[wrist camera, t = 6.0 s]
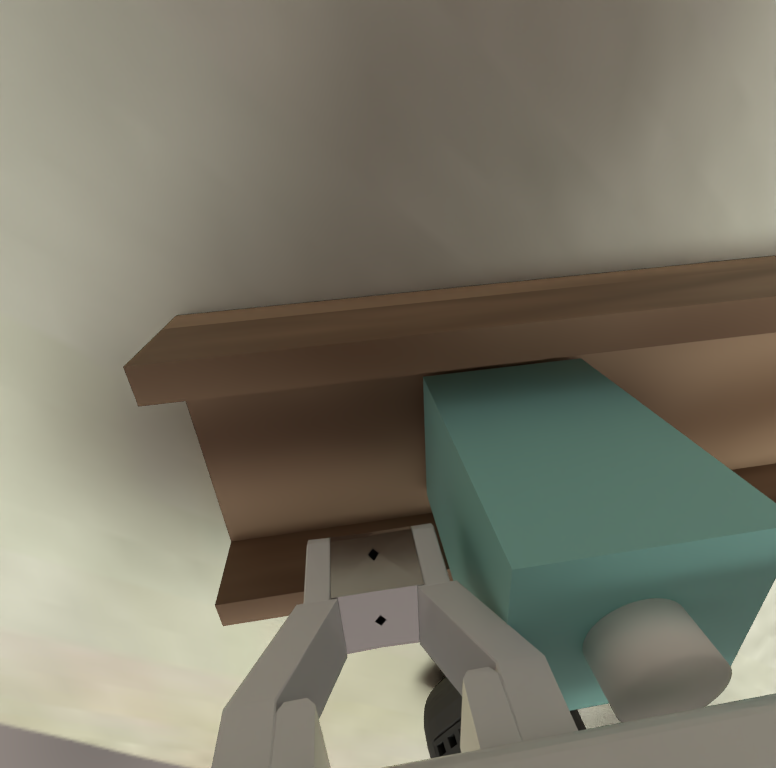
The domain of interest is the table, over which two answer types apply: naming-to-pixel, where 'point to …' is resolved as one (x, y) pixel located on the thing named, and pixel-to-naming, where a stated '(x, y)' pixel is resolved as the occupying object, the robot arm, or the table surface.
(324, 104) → the table surface
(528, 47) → the table surface
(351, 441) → the rail
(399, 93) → the table surface
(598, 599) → the block
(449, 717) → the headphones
